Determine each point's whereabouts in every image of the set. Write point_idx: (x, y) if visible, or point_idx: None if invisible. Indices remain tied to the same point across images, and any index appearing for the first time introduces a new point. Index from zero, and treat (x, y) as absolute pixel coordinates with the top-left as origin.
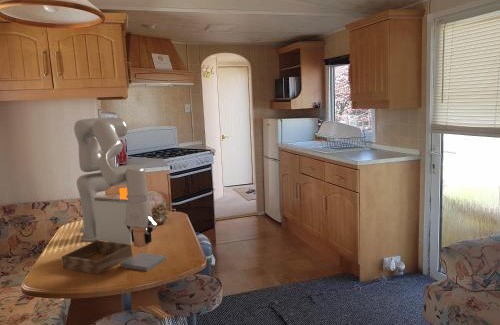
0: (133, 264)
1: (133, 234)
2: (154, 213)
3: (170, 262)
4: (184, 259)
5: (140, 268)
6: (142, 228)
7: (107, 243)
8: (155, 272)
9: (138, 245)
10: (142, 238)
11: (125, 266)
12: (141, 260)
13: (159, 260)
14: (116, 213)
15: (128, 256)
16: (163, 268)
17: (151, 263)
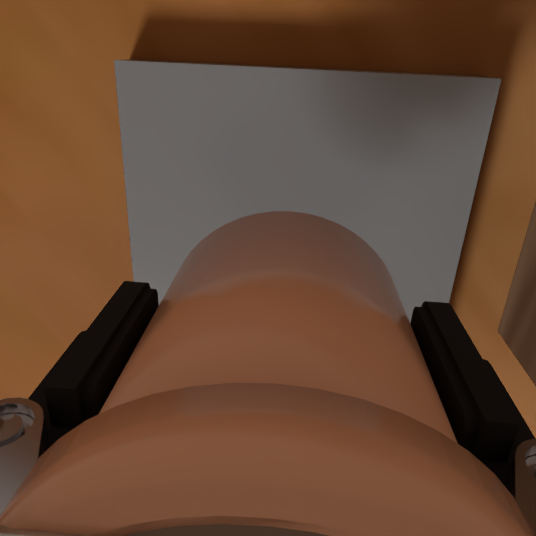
0: (318, 90)
1: (392, 354)
2: None
3: (66, 290)
4: (5, 362)
5: (211, 63)
6: (4, 519)
7: None
8: (29, 54)
9: (257, 221)
10: (158, 314)
11: (420, 73)
12: (295, 210)
13: (136, 267)
14: None
15: (518, 295)
16: (28, 163)
17: (141, 168)
